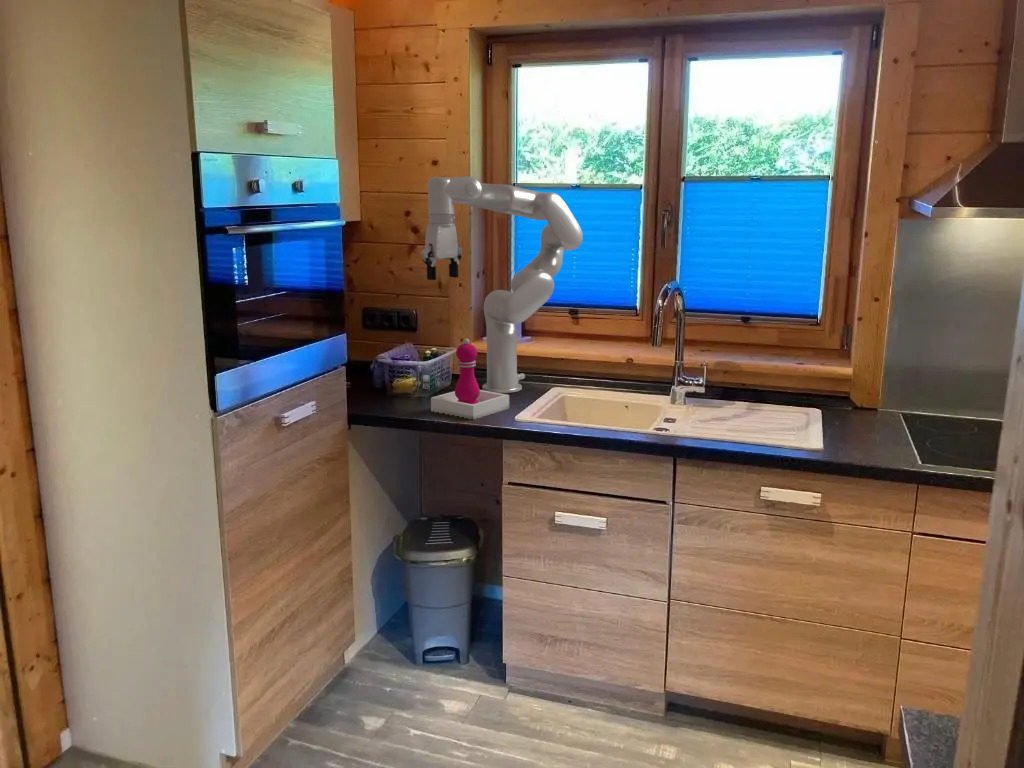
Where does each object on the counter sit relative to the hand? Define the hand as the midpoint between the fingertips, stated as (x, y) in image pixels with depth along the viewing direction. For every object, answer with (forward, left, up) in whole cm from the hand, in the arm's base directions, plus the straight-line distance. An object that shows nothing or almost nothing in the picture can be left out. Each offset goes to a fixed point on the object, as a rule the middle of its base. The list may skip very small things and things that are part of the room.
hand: (442, 278), depth 250 cm
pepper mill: (+9, +17, -36) cm, 40 cm away
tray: (+8, +17, -36) cm, 41 cm away
